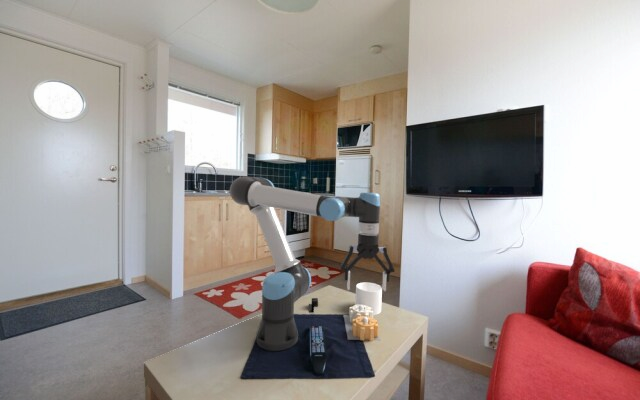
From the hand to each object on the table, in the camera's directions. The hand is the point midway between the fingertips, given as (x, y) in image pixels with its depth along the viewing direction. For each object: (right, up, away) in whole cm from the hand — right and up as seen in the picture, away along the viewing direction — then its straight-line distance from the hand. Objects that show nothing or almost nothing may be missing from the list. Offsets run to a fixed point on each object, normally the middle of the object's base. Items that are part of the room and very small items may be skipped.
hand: (366, 289), depth 102 cm
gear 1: (0, -17, +11) cm, 20 cm away
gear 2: (0, -17, +1) cm, 17 cm away
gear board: (-1, -18, +6) cm, 19 cm away
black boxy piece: (-20, -18, +25) cm, 37 cm away
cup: (+5, -18, +22) cm, 29 cm away
